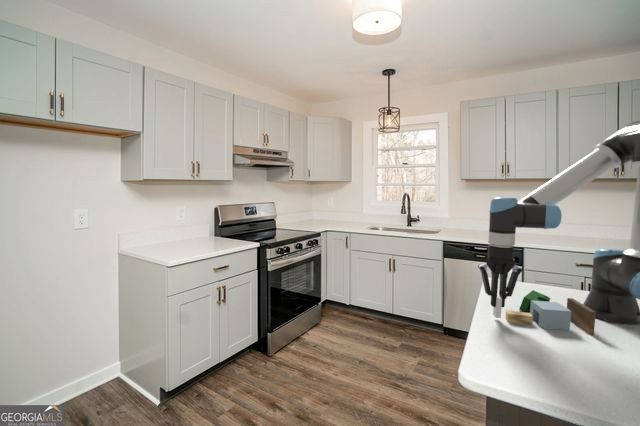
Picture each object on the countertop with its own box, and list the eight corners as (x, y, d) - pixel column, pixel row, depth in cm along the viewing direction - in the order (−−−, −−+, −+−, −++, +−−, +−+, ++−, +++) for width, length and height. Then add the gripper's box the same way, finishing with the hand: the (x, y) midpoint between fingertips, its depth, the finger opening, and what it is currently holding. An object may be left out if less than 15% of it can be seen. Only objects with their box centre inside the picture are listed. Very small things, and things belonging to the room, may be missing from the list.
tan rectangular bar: (529, 322, 109) (530, 313, 109) (532, 325, 107) (532, 316, 106) (505, 318, 112) (506, 310, 111) (507, 322, 109) (508, 313, 108)
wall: (570, 318, 112) (572, 298, 111) (593, 334, 100) (595, 311, 100) (565, 318, 112) (567, 298, 112) (588, 334, 100) (590, 311, 100)
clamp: (535, 327, 115) (541, 308, 111) (516, 318, 119) (521, 299, 115) (548, 307, 122) (554, 288, 117) (530, 299, 126) (535, 281, 121)
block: (555, 319, 111) (557, 302, 110) (569, 330, 103) (571, 311, 102) (529, 317, 112) (530, 300, 112) (541, 327, 104) (542, 309, 104)
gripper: (518, 244, 110) (513, 313, 113) (476, 242, 113) (472, 310, 115) (528, 248, 103) (523, 322, 105) (483, 246, 105) (479, 319, 107)
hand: (496, 316), depth 110 cm, fingers closed
